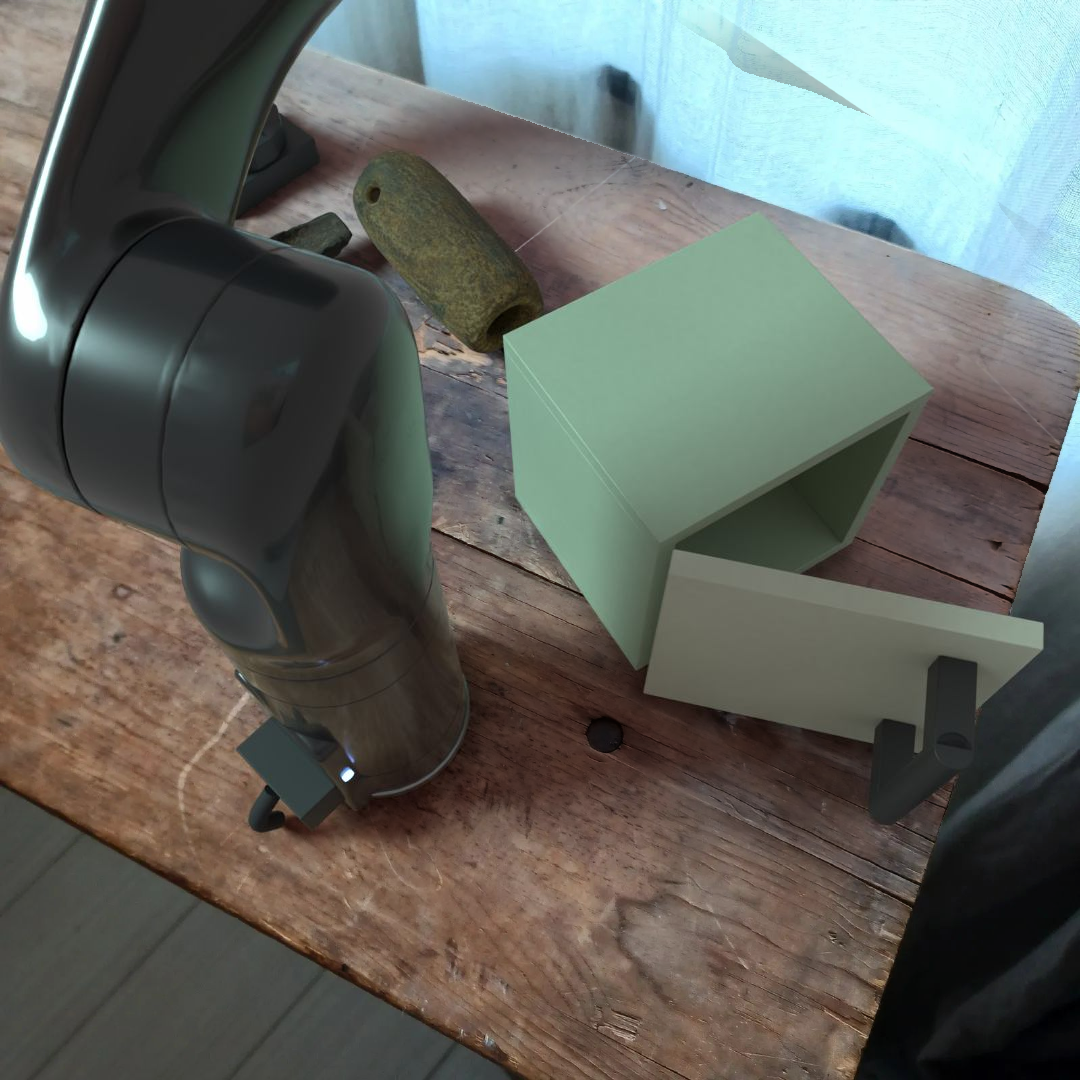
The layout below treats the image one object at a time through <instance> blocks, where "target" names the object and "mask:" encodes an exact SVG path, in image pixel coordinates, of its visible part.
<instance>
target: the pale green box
mask: <svg viewBox="0 0 1080 1080" xmlns="http://www.w3.org/2000/svg"><path fill="white" fill-rule="evenodd" d="M503 342H504V347H503V354H504V364H505V366H504V367H505V377H506V390H507V391H506V392H507V404H508V405H507V406H508V418H509V428H510V431H509V432H510V440H511V441H510V443H511V444H510V445H511V456H512V469H513V481H514V484H513V485H514V495H515V498H516V500H517V502H518V503H519V505H520V506H521V508H522V509H523V510H524V512H525V513H526V514H527V516H528V518H529V519H530V520H531V522H532V523H533V524H534V526H535V527H536V529H537V531H538V532H539V533H540V535H541V536H542V538H543V539H544V540H545V542H546V543H547V546H549V548H550V549H551V550H552V552H553V553H554V555H555V557H556V558H557V559H558V561H559V562H560V563H561V565H562V567H563V568H564V569H565V571H566V572H567V574H568V575H569V576H570V578H571V579H572V581H573V582H574V583H575V585H576V586H577V588H578V590H579V591H580V592H581V594H582V595H583V597H584V598H585V600H586V601H587V603H588V604H589V605H590V607H591V608H592V610H593V611H594V613H595V614H596V616H597V617H598V618H599V620H600V621H601V623H602V624H603V625H604V627H605V629H606V630H607V632H608V633H609V634H610V636H611V637H612V638H613V640H614V642H615V643H616V645H618V647H619V649H620V650H621V651H622V653H623V654H624V656H625V657H626V659H627V660H628V661H629V663H630V664H631V666H632V668H633V669H634V670H635V671H639V670H640V669H642V668H644V667H646V666H648V665H649V661H650V656H651V652H652V647H653V642H654V637H655V633H656V628H657V623H658V618H659V614H660V609H661V604H662V599H663V594H664V590H665V585H666V580H667V575H668V571H669V566H670V561H671V556H672V552H673V550H674V549H676V550H681V551H686V552H691V553H696V554H701V555H706V556H711V557H716V558H721V559H726V560H731V561H736V562H741V563H746V564H751V565H756V566H761V567H766V568H771V569H776V570H781V571H786V572H791V573H796V574H801V575H802V573H805V572H806V571H807V570H809V569H811V568H812V567H814V566H816V565H817V564H819V563H821V562H823V561H824V560H826V559H828V558H830V557H831V556H833V555H835V554H836V553H838V552H839V551H841V550H843V549H844V548H846V547H848V546H849V545H851V544H852V543H853V541H854V539H855V537H856V535H857V534H858V532H859V530H860V528H861V526H862V524H863V522H864V520H865V519H866V517H867V515H868V513H869V511H870V509H871V507H872V506H873V504H874V502H875V500H876V498H877V497H878V495H879V492H880V491H881V489H882V487H883V486H884V483H885V482H886V480H887V478H888V475H889V474H890V472H891V470H892V469H893V466H894V465H895V463H896V461H897V460H898V457H899V456H900V453H901V452H902V450H903V448H904V446H905V444H906V442H907V441H908V439H909V437H910V435H911V433H912V431H913V429H914V428H915V426H916V424H917V422H918V420H919V418H920V416H921V415H922V413H923V410H924V409H925V406H926V405H927V403H928V401H929V400H930V397H931V396H932V395H933V392H934V390H935V388H934V387H933V386H932V385H931V383H929V381H928V380H927V379H925V377H924V376H922V374H921V373H919V371H917V369H916V368H915V366H913V365H912V364H911V363H910V362H909V361H908V360H907V359H906V358H905V357H904V356H903V355H902V353H900V352H899V351H898V350H897V349H896V348H895V347H894V346H893V345H892V344H891V343H890V342H889V341H888V340H887V338H885V337H884V336H883V335H882V333H880V332H879V330H877V329H876V327H875V326H874V325H872V323H870V322H869V321H868V320H867V318H866V317H865V316H864V315H863V314H862V313H861V312H860V311H859V310H858V309H857V308H856V307H855V306H854V305H853V304H852V303H851V302H850V301H849V300H848V299H847V298H846V297H845V296H844V295H843V294H842V293H841V292H840V291H839V290H838V288H836V286H834V285H833V284H832V283H831V281H829V279H827V277H825V275H824V274H823V273H822V272H820V270H819V269H818V268H817V267H816V266H815V265H814V264H813V263H812V262H811V261H810V260H809V259H808V258H807V257H806V256H805V255H804V254H803V253H802V252H801V251H800V250H799V249H798V248H797V247H796V246H795V245H794V244H793V243H792V242H791V241H790V240H789V239H788V238H787V237H786V235H784V234H783V233H782V232H781V230H780V229H778V228H777V226H776V225H775V224H773V222H772V221H771V220H769V218H768V217H767V216H766V215H764V213H763V212H762V211H761V210H759V211H756V212H755V213H753V214H751V215H748V216H746V217H744V218H742V219H740V220H738V221H735V222H733V223H732V224H730V225H728V226H726V227H724V228H721V229H719V230H718V231H715V232H714V233H712V234H709V235H707V236H705V237H703V238H700V239H699V240H697V241H694V242H692V243H690V244H688V245H687V246H684V247H682V248H681V249H679V250H676V251H674V252H672V253H670V254H668V255H666V256H664V257H662V258H660V259H657V260H656V261H653V262H652V263H650V264H647V265H645V266H643V267H641V268H639V269H637V270H635V271H633V272H631V273H629V274H627V275H624V276H623V277H621V278H619V279H616V280H615V281H612V282H610V283H608V284H606V285H604V286H602V287H600V288H598V289H596V290H593V291H592V292H590V293H587V294H585V295H583V296H581V297H579V298H577V299H575V300H574V301H571V302H569V303H567V304H565V305H563V306H561V307H558V308H556V309H554V310H553V311H551V312H549V313H546V314H544V315H542V316H541V317H540V318H538V319H536V320H534V321H532V322H530V323H528V324H526V325H524V326H522V327H519V328H517V329H515V330H513V331H511V332H509V333H507V334H505V335H503Z"/></svg>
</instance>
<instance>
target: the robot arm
mask: <svg viewBox="0 0 1080 1080" xmlns="http://www.w3.org/2000/svg"><path fill="white" fill-rule="evenodd" d="M343 1H344V0H86V2H85V6H84V9H83V12H82V15H81V19H80V22H79V24H78V28H77V32H76V35H75V38H74V42H73V45H72V48H71V51H70V55H69V58H68V61H67V65H66V68H65V71H64V74H63V78H62V80H61V84H60V87H59V91H58V94H57V97H56V99H55V103H54V106H53V109H52V113H51V117H50V119H49V122H48V125H47V129H46V132H45V136H44V138H43V142H42V144H41V148H40V151H39V154H38V158H37V161H36V164H35V168H34V171H33V174H32V176H31V179H30V183H29V187H28V190H27V193H26V196H25V199H24V203H23V206H22V210H21V213H20V216H19V220H18V223H17V226H16V229H15V233H14V236H13V239H12V243H11V246H10V250H9V254H8V257H7V261H6V265H5V269H4V273H3V277H2V281H1V283H0V444H1V447H2V448H3V449H4V452H5V453H6V456H7V457H8V460H9V461H10V462H11V465H13V466H14V468H16V470H17V471H18V472H19V473H20V474H21V475H22V476H23V477H24V478H26V479H27V480H28V481H29V482H31V483H32V484H34V485H36V486H37V487H39V488H41V489H42V490H44V491H46V492H47V493H49V494H51V495H53V496H55V497H57V498H59V499H61V500H64V501H66V502H69V503H71V504H73V505H75V506H78V507H81V508H82V509H85V510H88V511H89V512H92V513H95V514H97V515H101V516H104V517H106V518H108V519H110V520H113V521H116V522H118V523H121V524H123V525H126V526H128V527H131V528H134V529H136V530H138V531H140V532H143V533H146V534H148V535H151V536H154V537H155V538H159V539H161V540H164V541H166V542H169V543H171V544H173V545H176V546H179V547H180V551H179V552H180V554H179V571H180V578H181V583H182V587H183V591H184V594H185V598H186V599H187V602H188V604H189V606H190V609H191V610H192V612H193V614H194V615H195V617H196V618H197V620H198V621H199V623H200V625H201V626H202V627H203V629H204V630H205V632H206V633H207V634H208V635H209V637H210V638H211V640H212V641H213V642H214V643H215V644H216V645H217V646H218V648H219V649H220V651H222V653H223V654H224V655H225V657H226V658H227V659H228V661H229V662H230V663H231V665H232V666H233V667H234V671H233V675H234V676H235V678H236V680H237V681H238V682H239V684H240V685H241V686H242V687H243V688H244V690H245V691H246V692H247V694H248V695H249V696H250V697H251V699H252V700H253V702H254V703H255V704H256V705H257V706H258V707H259V709H260V710H261V711H262V713H263V714H264V715H265V716H266V717H267V720H266V721H264V722H263V723H262V724H260V726H259V727H257V728H256V730H254V731H253V732H252V733H251V734H250V735H249V736H248V737H247V738H246V739H244V740H243V741H242V742H241V743H240V744H239V745H238V746H236V747H235V751H236V752H237V753H238V754H239V755H240V756H241V758H243V760H244V761H245V762H246V763H247V764H248V765H249V766H250V767H251V769H253V771H254V772H255V773H256V774H257V775H258V776H259V777H260V778H261V779H262V780H263V782H264V783H266V785H265V786H264V787H263V789H262V790H261V792H260V794H259V795H258V796H257V798H256V799H255V802H253V804H252V806H251V807H250V810H249V813H248V817H247V822H248V825H249V827H250V829H251V830H252V831H253V832H257V833H260V834H263V833H268V832H272V831H276V830H280V829H281V828H283V827H284V825H285V824H286V815H285V813H284V812H283V811H282V810H279V809H277V810H274V809H275V807H276V806H277V804H278V802H279V801H280V800H281V801H282V802H283V803H284V804H285V805H286V806H287V807H288V809H289V810H290V811H291V812H292V813H293V814H294V815H295V816H296V818H298V819H299V820H300V822H302V823H303V824H304V825H305V826H306V828H307V829H309V831H314V830H315V829H316V828H317V827H318V826H319V825H320V824H321V823H323V822H324V820H325V819H327V818H328V817H329V816H330V815H331V814H332V813H333V812H334V811H335V810H336V809H337V808H338V807H339V806H340V805H342V803H343V802H344V803H345V804H346V805H347V806H348V807H349V808H350V810H352V811H354V812H360V811H362V809H364V808H365V807H366V806H367V805H368V804H369V803H370V802H371V801H373V800H374V799H377V800H379V799H389V798H394V797H399V796H402V795H405V794H409V793H412V792H413V791H416V790H418V789H420V788H422V787H423V786H425V785H427V784H428V783H430V782H431V781H433V780H434V779H435V778H437V777H438V776H439V775H440V774H441V773H442V772H443V771H444V770H445V769H446V768H447V767H448V766H449V765H450V764H451V762H452V761H453V760H454V758H455V757H456V755H457V753H458V752H459V751H460V750H461V747H462V744H463V743H464V740H465V738H466V735H467V732H468V728H469V725H470V724H469V723H470V718H471V697H470V691H469V687H468V684H467V680H466V677H465V674H464V671H463V668H462V665H461V662H460V658H459V654H458V649H457V645H456V642H455V637H454V633H453V632H454V631H453V629H452V625H451V621H450V615H449V612H448V608H447V604H446V598H445V594H444V591H443V586H442V582H441V579H440V575H439V569H438V565H437V560H436V556H435V553H434V548H433V543H432V539H431V538H432V537H431V536H432V523H433V511H434V473H433V464H432V462H433V461H432V456H431V449H430V443H429V436H428V426H427V418H426V409H425V408H426V407H425V398H424V387H423V375H422V367H421V362H420V353H419V346H418V344H417V339H416V336H415V332H414V328H413V325H412V323H411V320H410V318H409V315H408V312H407V310H406V308H405V307H404V304H403V303H402V301H401V300H400V298H399V296H398V295H397V294H396V292H394V290H393V289H392V287H390V285H388V283H386V282H385V281H384V280H383V279H382V278H380V277H379V276H378V275H376V274H375V273H373V272H371V271H369V270H367V269H365V268H363V267H359V266H357V265H355V264H354V265H353V264H351V263H347V262H344V261H341V260H338V259H336V258H333V259H332V258H329V257H326V256H323V255H320V254H317V253H314V252H311V251H308V250H304V249H301V248H298V247H294V246H291V245H288V244H285V243H282V242H279V241H276V240H272V239H269V238H270V237H266V236H262V235H260V234H256V233H253V232H250V231H248V230H243V229H241V228H238V227H235V222H236V220H235V218H236V214H237V209H238V205H239V201H240V197H241V193H242V190H243V187H244V183H245V180H246V176H247V173H248V170H249V166H250V163H251V161H252V158H253V155H254V152H255V149H256V146H257V143H258V140H259V138H260V135H261V132H262V130H263V127H264V125H265V122H266V120H267V117H268V115H269V112H270V110H271V107H272V105H273V103H274V104H275V100H276V99H277V96H278V95H279V92H280V90H281V88H282V86H283V84H284V82H285V80H286V78H287V76H288V75H289V73H290V71H291V70H292V69H293V66H294V64H295V63H296V61H297V59H298V58H299V56H300V54H301V53H302V51H303V50H304V49H305V47H306V46H307V44H308V43H309V42H310V40H312V38H313V36H314V35H315V34H316V32H317V31H318V30H319V29H320V27H321V26H322V25H323V24H324V22H325V21H326V20H327V19H328V18H329V16H330V15H331V14H332V13H333V12H334V11H335V10H336V9H337V7H338V6H339V5H340V4H342V2H343Z"/></svg>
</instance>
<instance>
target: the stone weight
mask: <svg viewBox="0 0 1080 1080" xmlns="http://www.w3.org/2000/svg"><path fill="white" fill-rule="evenodd" d="M352 203H353V207H354V211H355V213H356V216H357V218H358V221H359V223H360V224H361V226H362V229H363V230H364V231H365V234H366V235H367V236H368V238H369V239H370V241H371V242H372V243H373V245H374V246H375V248H376V249H377V250H378V251H379V252H380V254H381V255H382V256H383V257H384V259H385V260H386V261H387V262H388V263H389V265H391V267H392V268H393V269H394V270H395V272H396V273H397V274H398V275H399V277H401V279H402V280H403V281H404V282H405V284H407V285H408V287H409V288H410V289H411V290H412V291H413V292H414V293H415V295H416V296H417V297H418V299H419V300H420V301H421V302H422V304H424V306H425V307H426V308H427V309H428V310H429V311H430V313H431V315H433V316H434V317H435V319H436V320H437V321H439V322H440V323H441V325H442V326H443V327H445V329H447V331H448V332H450V333H451V334H452V335H453V336H454V337H455V338H456V339H457V340H458V341H459V342H460V343H462V344H463V345H464V346H465V347H467V348H468V349H469V350H471V351H472V352H475V353H477V354H490V353H493V352H496V351H498V350H500V349H502V348H504V342H503V335H505V334H507V333H509V332H511V331H513V330H515V329H517V328H519V327H522V326H524V325H526V324H528V323H530V322H532V321H534V320H536V319H538V318H540V317H542V316H543V313H544V307H545V302H544V297H543V293H542V291H541V288H540V286H539V284H538V282H537V280H536V278H535V277H534V275H533V273H532V272H531V270H530V269H529V267H528V265H526V263H525V262H524V260H522V258H521V257H520V256H519V254H517V253H516V251H515V250H514V249H513V248H512V247H511V245H509V244H508V243H507V241H506V240H505V239H504V238H503V237H502V236H500V234H499V233H498V232H497V230H496V229H495V228H493V227H492V225H490V224H491V223H489V222H488V221H487V220H486V219H485V217H484V216H482V215H481V214H480V213H479V212H478V210H477V209H476V208H475V207H474V206H473V205H472V204H471V202H470V201H469V200H468V199H467V198H466V197H465V196H464V195H463V194H462V192H460V191H459V189H457V187H456V186H455V185H454V184H452V182H450V180H449V179H447V177H446V176H444V175H443V174H442V173H441V172H440V171H439V170H438V169H437V168H436V167H435V166H433V164H431V163H430V162H429V161H427V160H426V159H424V158H423V157H422V156H419V155H417V154H414V153H412V152H409V151H406V150H398V149H393V150H387V151H385V152H382V153H380V154H378V155H377V156H376V157H374V158H372V159H371V161H369V163H367V165H366V166H365V167H364V169H362V172H361V173H360V175H359V177H358V179H357V180H356V183H355V185H354V188H353V192H352Z"/></svg>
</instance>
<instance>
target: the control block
mask: <svg viewBox="0 0 1080 1080" xmlns="http://www.w3.org/2000/svg"><path fill="white" fill-rule="evenodd" d="M320 162H321V160H320V155H319V152H318V148H317V144H316V140H315V138H314V137H313V136H312V135H311V134H310V133H308V132H307V131H305V130H304V129H302V128H301V127H300V126H298V125H297V124H296V123H294V122H293V121H291V120H290V119H288V118H287V117H286V116H285V115H283V114H282V113H280V112H279V108H278V106H277V104H276V103H275V102H274V103H273V105H272V107H271V110H270V112H269V115H268V117H267V120H266V122H265V125H264V127H263V130H262V132H261V135H260V138H259V140H258V143H257V146H256V149H255V152H254V155H253V158H252V161H251V163H250V166H249V170H248V173H247V176H246V180H245V183H244V187H243V190H242V193H241V197H240V201H239V205H238V209H237V214H236V218H235V221H236V220H237V219H239V218H240V217H242V216H243V215H245V214H247V212H249V211H250V210H252V209H254V208H255V207H256V206H258V205H259V204H260V203H262V202H264V201H265V200H266V199H268V198H269V197H271V196H272V195H274V194H275V193H277V192H278V191H280V190H281V189H282V188H284V187H285V186H287V185H289V184H290V183H291V182H293V181H294V180H296V179H298V178H299V177H300V176H302V175H303V174H305V173H306V172H307V171H310V170H311V169H312V168H313V167H315V166H316V165H317V164H319V163H320Z"/></svg>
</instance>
